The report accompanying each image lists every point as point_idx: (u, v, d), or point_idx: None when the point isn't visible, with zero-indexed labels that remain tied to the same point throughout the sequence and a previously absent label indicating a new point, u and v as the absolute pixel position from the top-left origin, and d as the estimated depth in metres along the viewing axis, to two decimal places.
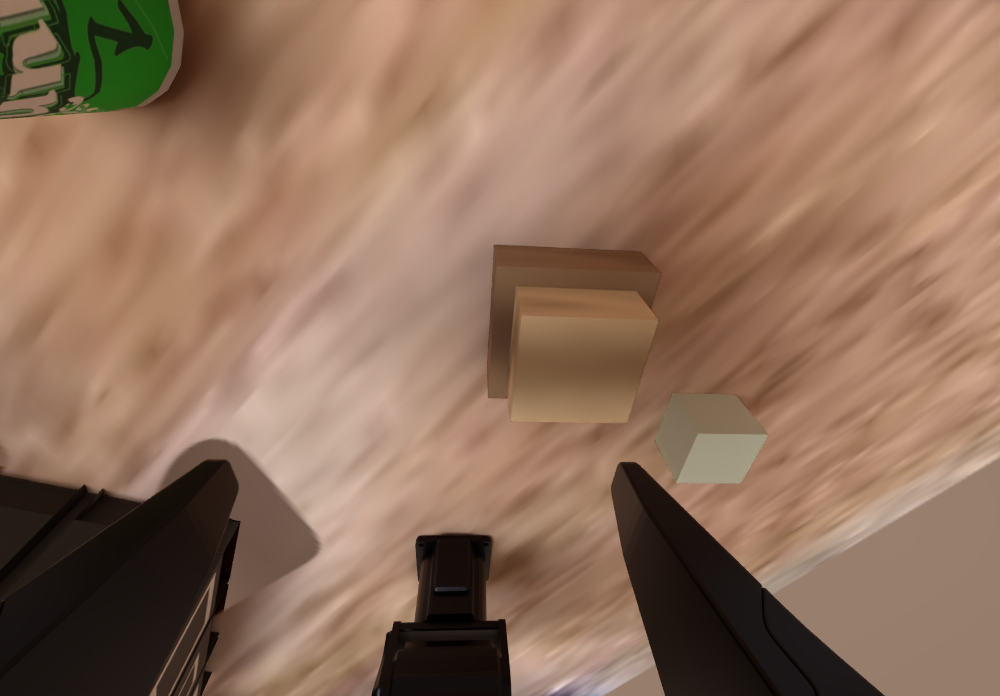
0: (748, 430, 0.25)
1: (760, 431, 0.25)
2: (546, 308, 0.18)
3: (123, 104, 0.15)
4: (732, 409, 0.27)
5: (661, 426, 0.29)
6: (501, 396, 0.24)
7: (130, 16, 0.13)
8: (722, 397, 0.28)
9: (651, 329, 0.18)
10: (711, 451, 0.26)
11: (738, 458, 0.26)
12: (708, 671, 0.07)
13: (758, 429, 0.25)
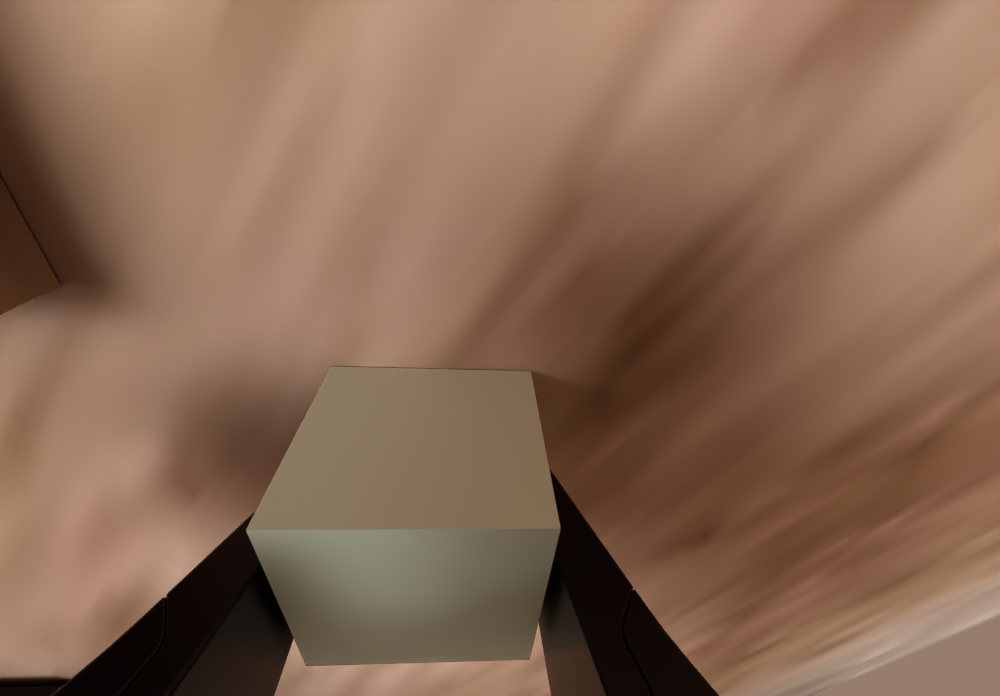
0: (486, 508, 0.06)
1: (533, 512, 0.06)
2: None
3: None
4: (485, 421, 0.08)
5: None
6: None
7: None
8: (482, 383, 0.09)
9: None
10: (359, 584, 0.07)
11: (480, 601, 0.07)
12: (574, 676, 0.06)
13: (534, 501, 0.06)
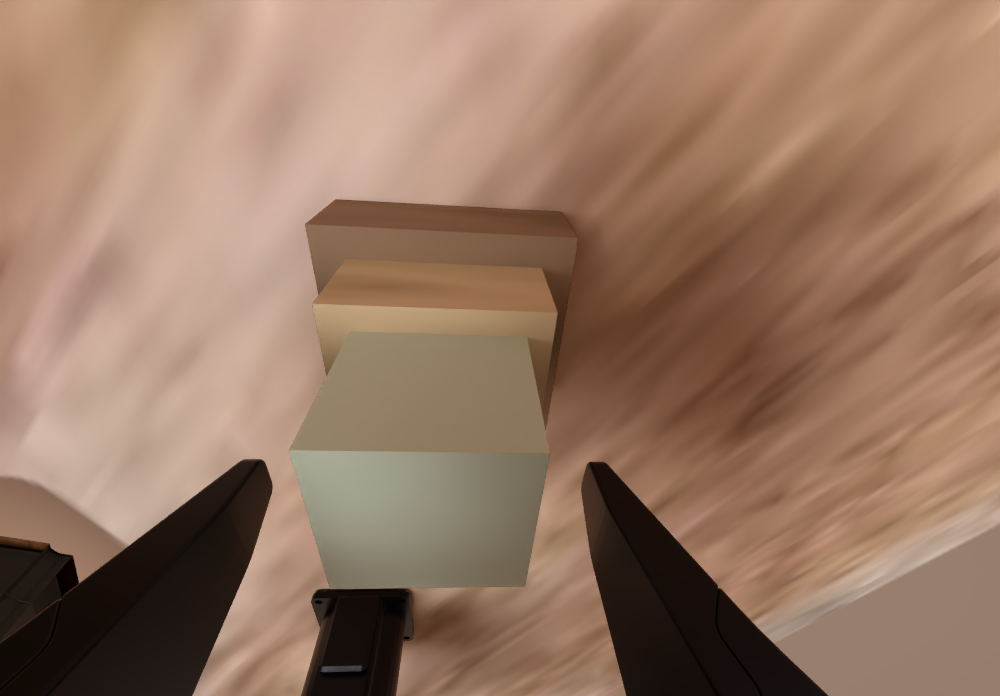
0: (488, 438, 0.08)
1: (528, 441, 0.08)
2: (368, 292, 0.11)
3: None
4: (487, 375, 0.09)
5: None
6: None
7: None
8: (484, 345, 0.10)
9: (547, 328, 0.11)
10: (380, 505, 0.08)
11: (482, 525, 0.08)
12: (662, 673, 0.06)
13: (528, 433, 0.08)
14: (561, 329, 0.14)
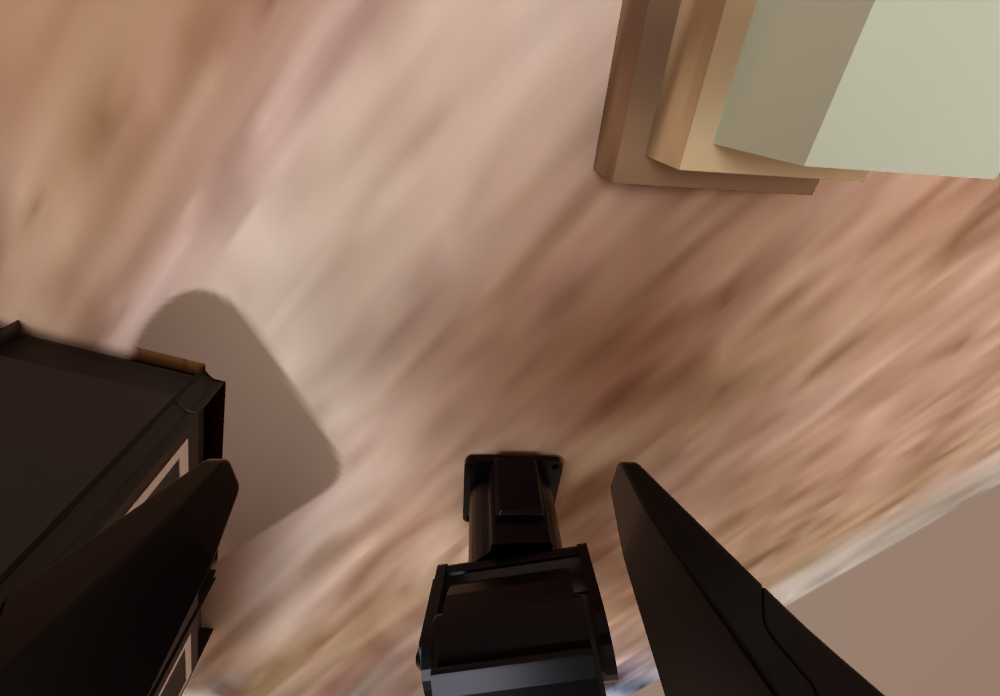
0: None
1: None
2: None
3: None
4: None
5: (738, 80, 0.11)
6: (632, 180, 0.15)
7: None
8: None
9: None
10: None
11: None
12: (709, 671, 0.07)
13: None
14: None
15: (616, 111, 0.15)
